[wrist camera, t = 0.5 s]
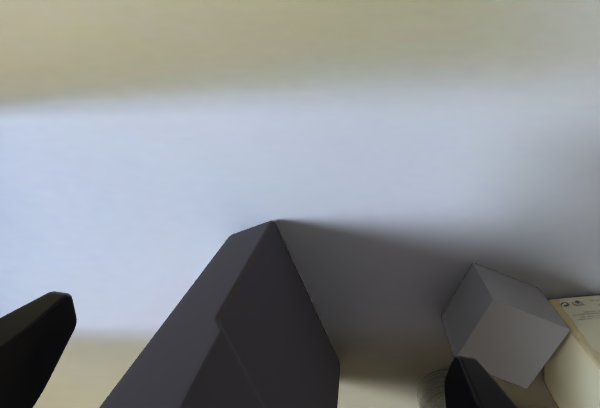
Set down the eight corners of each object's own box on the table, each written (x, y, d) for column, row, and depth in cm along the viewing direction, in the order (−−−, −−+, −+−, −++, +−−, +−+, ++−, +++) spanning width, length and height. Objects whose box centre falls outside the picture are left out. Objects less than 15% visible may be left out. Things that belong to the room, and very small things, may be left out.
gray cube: (502, 340, 25) (526, 389, 22) (441, 316, 25) (454, 360, 22) (537, 287, 24) (570, 329, 20) (472, 262, 24) (493, 299, 20)
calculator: (219, 237, 26) (47, 448, 12) (282, 214, 25) (176, 416, 11) (290, 377, 28) (219, 688, 14) (349, 362, 27) (336, 681, 13)
